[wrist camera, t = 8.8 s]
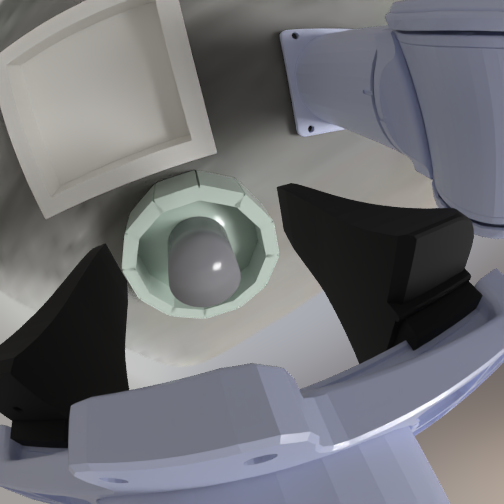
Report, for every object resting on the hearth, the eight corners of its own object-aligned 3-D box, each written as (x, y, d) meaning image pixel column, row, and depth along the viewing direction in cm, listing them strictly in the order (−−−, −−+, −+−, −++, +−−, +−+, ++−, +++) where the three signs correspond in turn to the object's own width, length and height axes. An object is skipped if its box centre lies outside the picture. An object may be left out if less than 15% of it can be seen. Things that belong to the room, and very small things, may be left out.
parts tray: (171, -15, 11) (171, -29, 9) (211, 143, 18) (217, 153, 16) (10, 60, 10) (-11, 61, 8) (58, 202, 17) (45, 219, 15)
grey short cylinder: (212, 205, 20) (223, 237, 16) (237, 252, 23) (250, 289, 19) (156, 234, 20) (154, 271, 16) (185, 276, 23) (190, 316, 19)
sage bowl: (251, 153, 19) (263, 165, 17) (274, 270, 26) (285, 292, 23) (104, 202, 18) (95, 221, 16) (159, 307, 25) (160, 331, 22)
